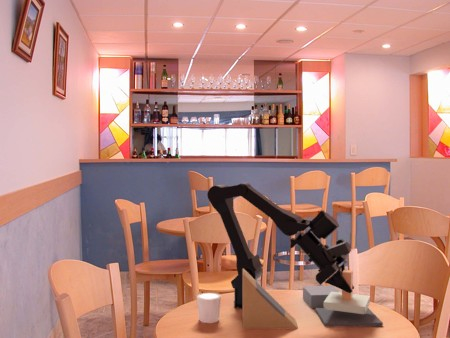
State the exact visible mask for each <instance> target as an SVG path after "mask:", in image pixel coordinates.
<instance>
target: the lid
mask: <svg viewBox="0 0 450 338" xmlns="http://www.w3.org/2000/svg"><path fill="white" fill-rule="evenodd" d="M353 271H354V270H349V269H345V270H344V271H343V272H342V276H343V277H344V279H345V280H346V282H347V283H348V284H349V286H350V287H351V289H352V292H351V293H348V292H346V291H344V290H342V289H341V291H340V292H341V293H340V292H330V294H329V295H328V297H327V298H326V299H325V301H324V304H323V309H327V310H335V311H342V312H350V313H358V314H365V313H366V311H367V309H368V308H369V307H370V306H369V305H370V303H371V295H366V294H356V293H353V290H354V289H353V286H354V285H353V284H354V282H353V281H354V280H353V278H354V276H353V274H354V272H353Z"/></svg>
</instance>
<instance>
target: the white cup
mask: <svg viewBox="0 0 450 338" xmlns="http://www.w3.org/2000/svg"><path fill="white" fill-rule="evenodd" d="M221 300H222V296H221V294H219V293H216V292H204V293H199V294H197V295H196V301H197V302H196V303H197V310H198V311H197V312H198V321H199V320H200V321H201V322H200V321H199V322H200V323H203V324H212V323H213V324H214V323H217V322H219V320H220V309H221Z"/></svg>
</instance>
